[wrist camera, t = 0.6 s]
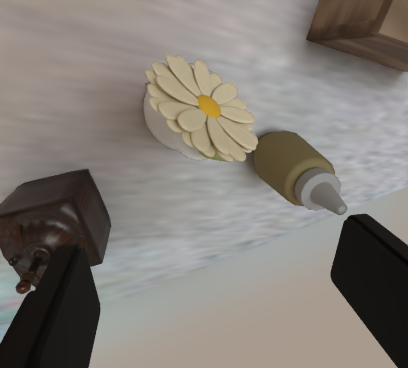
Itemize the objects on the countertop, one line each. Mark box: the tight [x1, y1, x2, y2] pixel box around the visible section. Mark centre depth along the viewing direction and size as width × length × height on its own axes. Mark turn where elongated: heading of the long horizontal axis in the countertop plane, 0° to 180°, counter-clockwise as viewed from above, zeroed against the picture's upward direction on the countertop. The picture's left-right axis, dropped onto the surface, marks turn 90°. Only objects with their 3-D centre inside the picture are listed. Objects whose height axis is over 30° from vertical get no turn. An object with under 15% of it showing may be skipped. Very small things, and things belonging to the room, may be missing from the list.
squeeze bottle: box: [254, 131, 347, 215], centre depth 34 cm, size 8×8×18 cm
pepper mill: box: [0, 169, 111, 294], centre depth 34 cm, size 16×11×18 cm
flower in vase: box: [143, 54, 258, 162], centre depth 26 cm, size 13×11×25 cm
